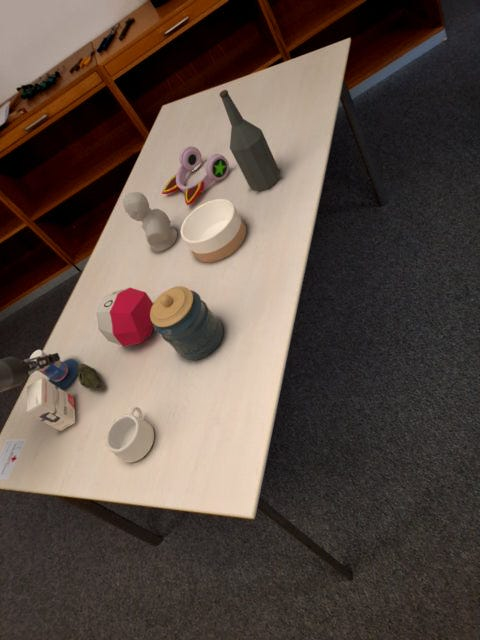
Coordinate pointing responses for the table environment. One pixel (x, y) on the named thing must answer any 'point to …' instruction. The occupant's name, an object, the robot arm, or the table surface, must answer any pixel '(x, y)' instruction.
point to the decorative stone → (89, 377)
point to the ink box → (50, 404)
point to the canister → (186, 323)
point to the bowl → (213, 230)
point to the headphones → (189, 160)
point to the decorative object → (125, 317)
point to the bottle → (250, 149)
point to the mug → (130, 437)
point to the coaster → (67, 375)
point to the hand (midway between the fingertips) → (49, 359)
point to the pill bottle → (51, 367)
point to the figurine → (150, 221)
